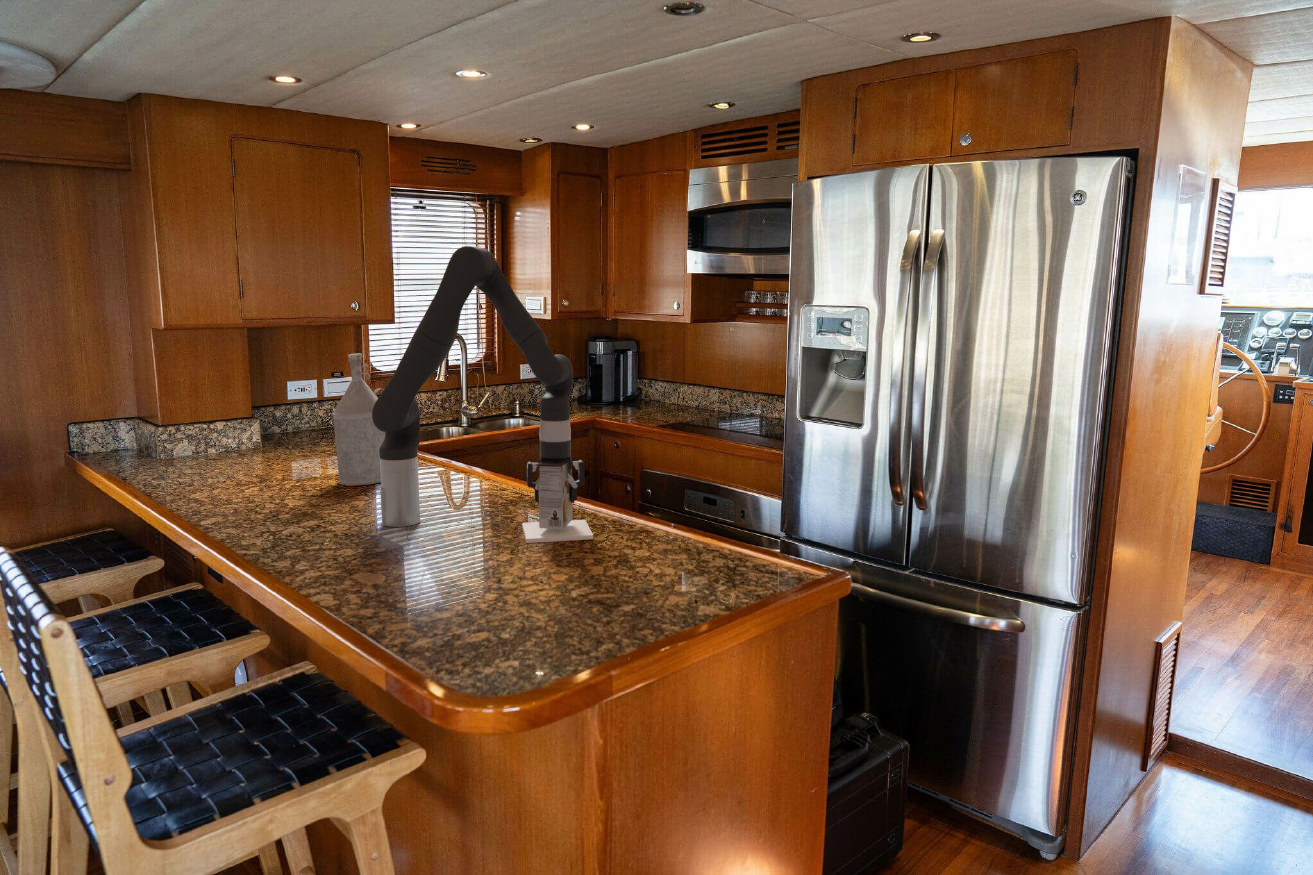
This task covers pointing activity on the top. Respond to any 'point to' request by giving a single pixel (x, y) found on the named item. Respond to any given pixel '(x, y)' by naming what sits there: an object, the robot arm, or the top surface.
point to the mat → (557, 532)
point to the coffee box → (554, 495)
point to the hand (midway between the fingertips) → (556, 503)
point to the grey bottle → (357, 431)
